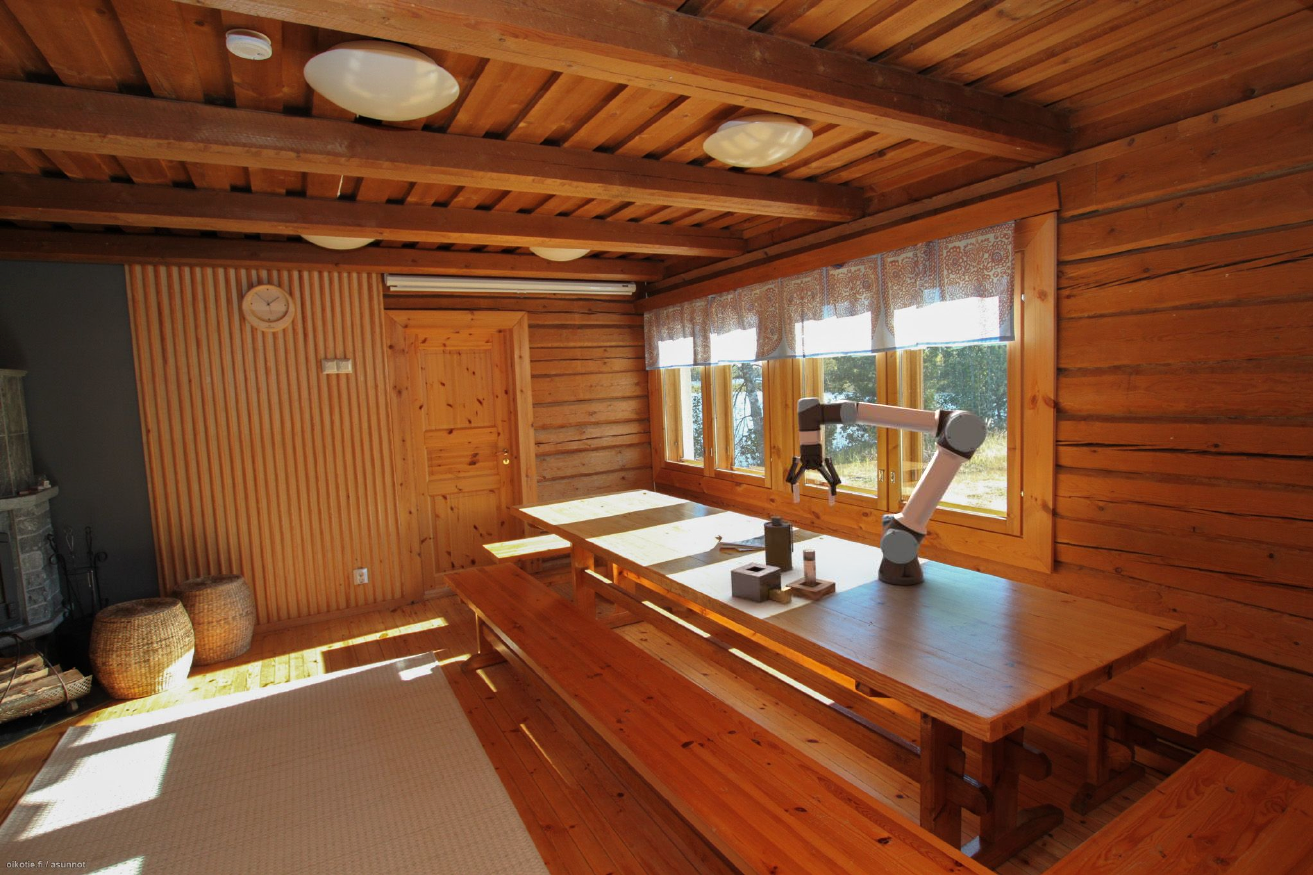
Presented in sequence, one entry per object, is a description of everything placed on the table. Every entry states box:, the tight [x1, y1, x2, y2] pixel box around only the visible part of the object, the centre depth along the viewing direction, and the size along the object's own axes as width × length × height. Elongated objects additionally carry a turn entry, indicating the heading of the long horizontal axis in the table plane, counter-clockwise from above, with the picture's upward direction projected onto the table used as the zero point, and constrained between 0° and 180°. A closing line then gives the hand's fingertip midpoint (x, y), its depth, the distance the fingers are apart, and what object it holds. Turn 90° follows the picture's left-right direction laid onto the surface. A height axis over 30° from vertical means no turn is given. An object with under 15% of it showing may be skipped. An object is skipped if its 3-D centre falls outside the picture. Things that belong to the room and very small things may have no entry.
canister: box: [763, 515, 794, 573], centre depth 261 cm, size 11×10×20 cm
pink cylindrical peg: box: [802, 548, 817, 588], centre depth 231 cm, size 4×4×14 cm
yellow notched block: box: [768, 586, 792, 605], centre depth 227 cm, size 12×4×4 cm, turn 44°
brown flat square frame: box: [784, 576, 836, 602], centre depth 232 cm, size 12×12×3 cm
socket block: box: [730, 562, 782, 604], centre depth 232 cm, size 12×12×9 cm
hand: (814, 503), depth 236 cm, fingers open, 13 cm apart
